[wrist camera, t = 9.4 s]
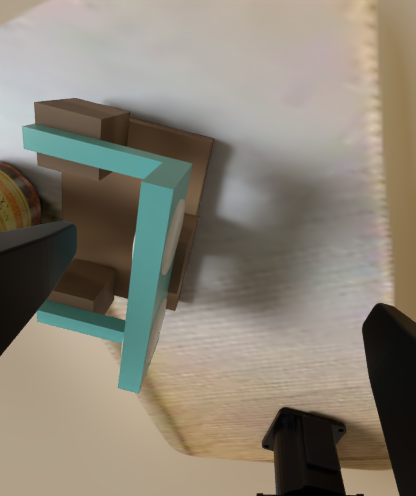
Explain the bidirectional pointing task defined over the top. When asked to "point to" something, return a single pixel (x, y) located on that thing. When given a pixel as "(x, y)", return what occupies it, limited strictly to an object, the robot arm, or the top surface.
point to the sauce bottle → (17, 200)
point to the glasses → (144, 247)
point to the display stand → (115, 200)
